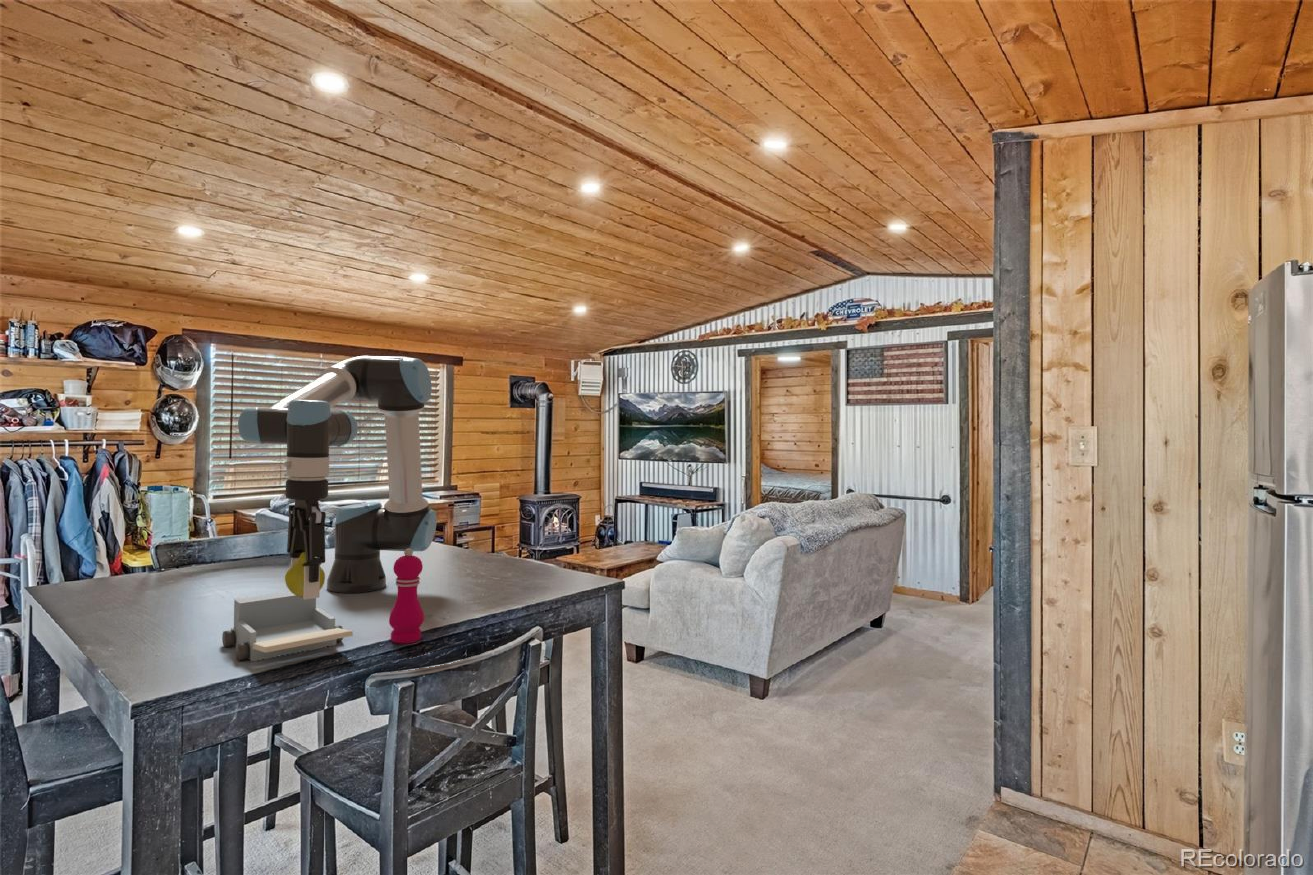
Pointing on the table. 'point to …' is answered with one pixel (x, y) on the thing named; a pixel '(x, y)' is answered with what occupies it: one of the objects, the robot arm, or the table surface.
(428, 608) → the table surface
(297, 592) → the fruit
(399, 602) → the pepper mill
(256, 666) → the table surface
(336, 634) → the panel
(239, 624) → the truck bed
